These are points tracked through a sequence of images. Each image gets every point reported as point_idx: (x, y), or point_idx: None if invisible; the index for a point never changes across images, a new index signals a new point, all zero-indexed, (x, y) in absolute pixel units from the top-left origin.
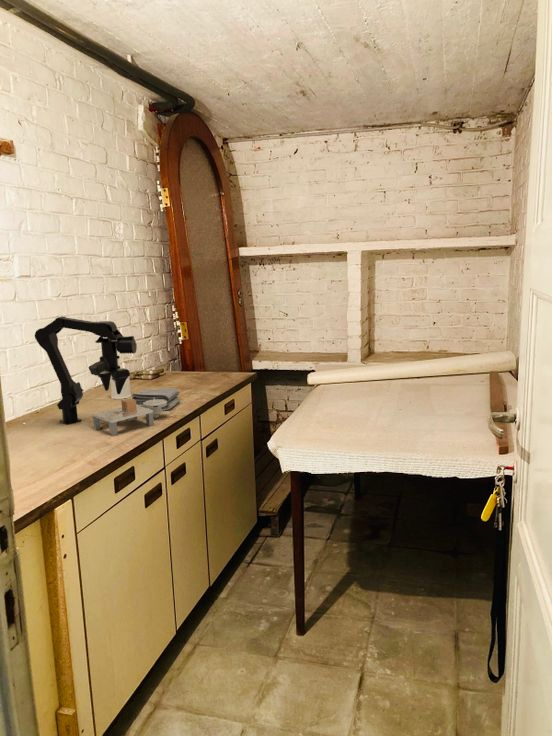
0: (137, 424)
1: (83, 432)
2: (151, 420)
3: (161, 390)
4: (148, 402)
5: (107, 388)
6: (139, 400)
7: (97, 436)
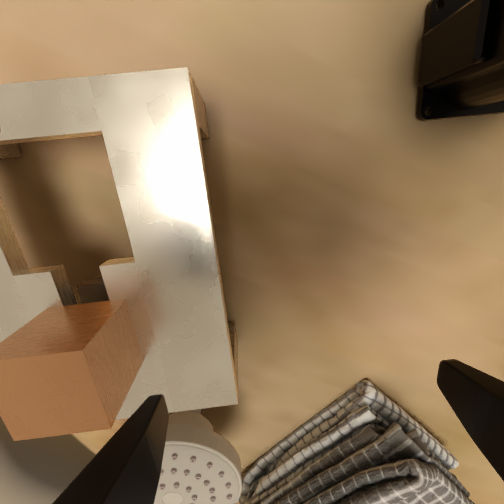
0: None
1: (170, 9)
2: None
3: None
4: (171, 470)
5: (457, 399)
6: (359, 453)
7: (19, 43)
